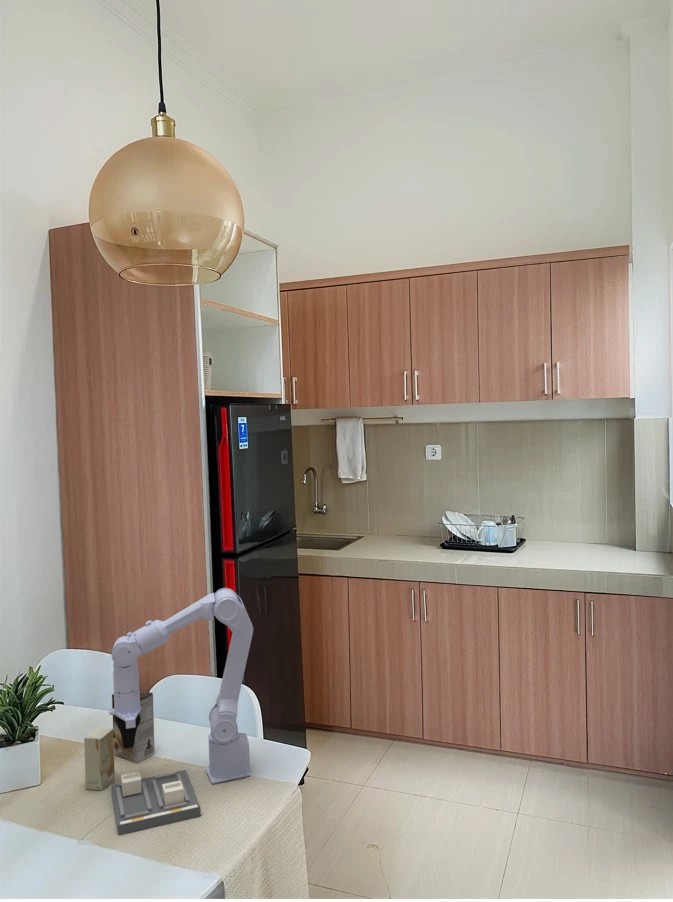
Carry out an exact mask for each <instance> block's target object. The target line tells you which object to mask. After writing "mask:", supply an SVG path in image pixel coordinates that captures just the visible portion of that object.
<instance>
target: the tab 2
mask: <svg viewBox="0 0 673 902" xmlns="http://www.w3.org/2000/svg"><path fill="white" fill-rule="evenodd" d="M162 794H163V801H164V804H165V807H166V806H170V805H175V804H179V803H184V789H183V786H182V783H181V781H175V782H171V783H166V784H162Z"/></svg>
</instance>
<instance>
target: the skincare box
mask: <svg viewBox="0 0 673 902" xmlns="http://www.w3.org/2000/svg"><path fill="white" fill-rule="evenodd" d="M83 743H84V767H85V768H84V772H85V773H84V775H85V776H84V778H85V779H84V780H85V790H95V791H103V790H104V789H105V788H106V787H107V786H108V785H109V784H111V782H112V781H114V779H115V778H116V777H115V774H116V773H115V771H116V770H115V755H114V739H113V728H109V727H108V728H107V727H96V728H95V729H94V730H93V731H91V732H90V733H89V734H87V735H86V736H85V737H84V738H83Z"/></svg>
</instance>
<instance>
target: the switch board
mask: <svg viewBox="0 0 673 902" xmlns="http://www.w3.org/2000/svg"><path fill="white" fill-rule="evenodd" d="M175 781H181V783H182V786H183V789H184V803H179V804H175V805H170V806H166V807H165V804H164V801H163V794H162V784H166V783H171V782H175ZM110 787H111V790H110V791H111V798H112V803H113V810H114V817H115V823H116V828H117V834H118V836H121V835H125V834H130V833H133V832H138V831H142V830H146V829H149V828H155V827H159V826H163V825H167V824H172V823H177V822H180V821H181V822H182V821H184V820H190V819H193V817H194V818H198V817H201V815H202V814H201V804H200V802H199V801H198V797H197V795H196V793H195V790H194V787H193V784H192V782H191V779H190V778H189V775H188V772H187V769H184V770H179V771H172V772H169V773H163V774H157V775H154V776H149V777H143V778H141V788H142V793H137V794H133V795H128V796H123V793H122V788H121V782H119V783H116V784H111V786H110ZM197 816H198V817H197Z"/></svg>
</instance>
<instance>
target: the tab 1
mask: <svg viewBox="0 0 673 902" xmlns="http://www.w3.org/2000/svg"><path fill="white" fill-rule="evenodd" d="M141 779H142V777H141V773H140V771H134V772H130V773H125V774H121V775H120V783H121V788H122V793H123V796H128V795H133V794H137V793H142V788H141Z"/></svg>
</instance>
